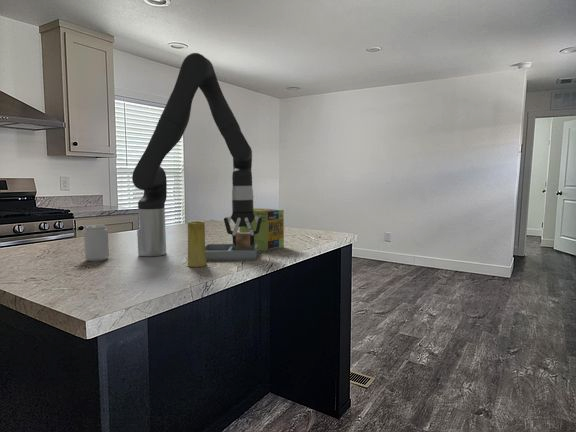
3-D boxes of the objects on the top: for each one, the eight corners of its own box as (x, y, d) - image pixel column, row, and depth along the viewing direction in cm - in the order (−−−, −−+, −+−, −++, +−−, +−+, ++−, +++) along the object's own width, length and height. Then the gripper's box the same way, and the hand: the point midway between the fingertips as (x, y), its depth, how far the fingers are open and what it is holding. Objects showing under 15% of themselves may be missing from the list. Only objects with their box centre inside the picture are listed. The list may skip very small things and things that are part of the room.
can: (99, 262, 132) (97, 227, 131) (80, 261, 134) (78, 226, 133) (113, 257, 140) (112, 224, 138) (95, 257, 141) (93, 224, 140)
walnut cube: (236, 248, 138) (235, 234, 138) (237, 245, 143) (237, 232, 143) (250, 248, 138) (249, 234, 138) (251, 245, 143) (250, 232, 143)
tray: (198, 260, 134) (198, 251, 133) (206, 252, 148) (206, 243, 148) (255, 260, 134) (255, 250, 134) (257, 251, 149) (257, 243, 148)
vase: (209, 263, 130) (208, 220, 128) (203, 267, 124) (202, 223, 122) (191, 263, 130) (190, 220, 129) (184, 267, 124) (183, 222, 123)
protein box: (268, 251, 150) (267, 211, 148) (239, 247, 159) (238, 209, 157) (284, 247, 158) (284, 209, 156) (256, 243, 167) (255, 207, 166)
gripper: (221, 199, 135) (222, 247, 137) (262, 198, 136) (263, 247, 137) (223, 198, 143) (225, 244, 144) (263, 197, 143) (263, 243, 145)
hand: (243, 245), depth 141 cm, fingers closed on walnut cube, 5 cm apart
